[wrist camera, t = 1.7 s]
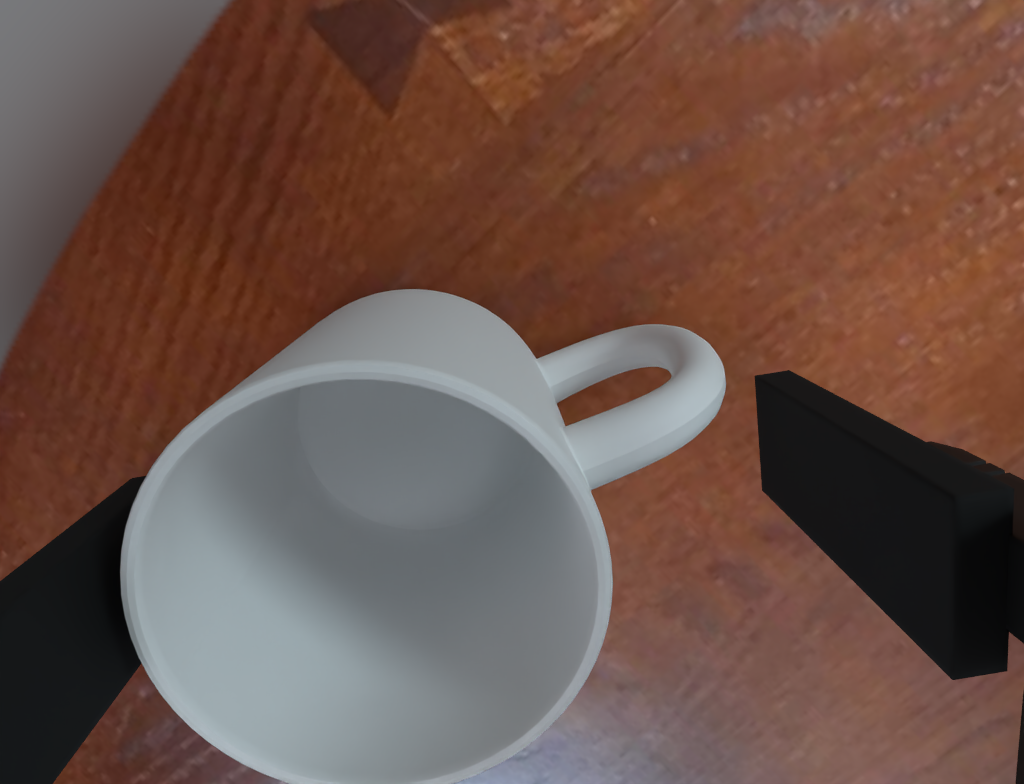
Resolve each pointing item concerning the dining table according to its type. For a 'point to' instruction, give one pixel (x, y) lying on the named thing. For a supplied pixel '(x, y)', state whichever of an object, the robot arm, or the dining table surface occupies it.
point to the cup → (395, 539)
